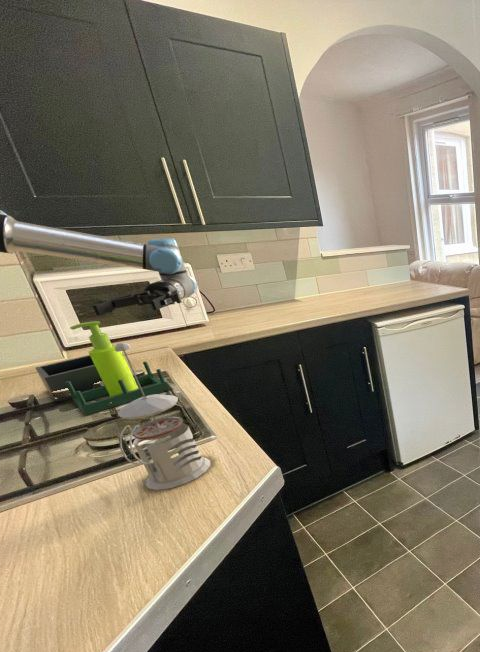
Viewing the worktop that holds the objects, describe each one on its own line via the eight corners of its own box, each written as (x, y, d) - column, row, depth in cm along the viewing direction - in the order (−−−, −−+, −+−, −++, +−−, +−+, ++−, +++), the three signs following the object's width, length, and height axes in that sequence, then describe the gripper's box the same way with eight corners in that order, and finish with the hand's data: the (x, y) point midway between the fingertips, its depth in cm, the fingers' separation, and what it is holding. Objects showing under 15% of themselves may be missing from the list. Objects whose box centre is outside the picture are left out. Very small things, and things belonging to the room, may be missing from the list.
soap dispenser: (105, 397, 110) (69, 323, 101) (139, 389, 114) (106, 317, 106) (107, 404, 106) (69, 327, 98) (141, 395, 110) (108, 321, 102)
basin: (57, 402, 108) (44, 377, 105) (47, 390, 116) (34, 367, 113) (134, 381, 120) (124, 358, 117) (121, 371, 127) (111, 350, 125)
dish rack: (86, 415, 100) (74, 393, 98) (74, 403, 107) (63, 382, 105) (170, 389, 113) (161, 369, 110) (155, 380, 119) (146, 360, 117)
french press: (222, 456, 81) (173, 332, 70) (177, 496, 70) (112, 356, 60) (173, 458, 81) (117, 334, 71) (121, 497, 71) (46, 358, 60)
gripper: (211, 300, 138) (181, 316, 119) (124, 308, 133) (78, 326, 114) (203, 277, 134) (171, 289, 116) (113, 284, 130) (64, 298, 111)
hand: (125, 308), depth 115 cm, fingers open, 13 cm apart
